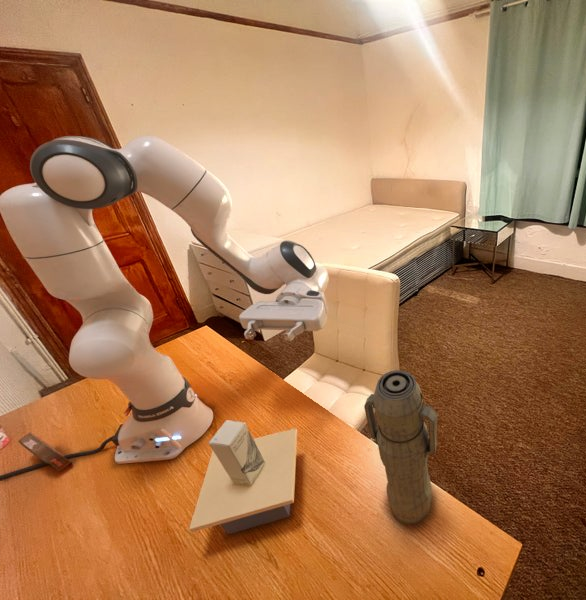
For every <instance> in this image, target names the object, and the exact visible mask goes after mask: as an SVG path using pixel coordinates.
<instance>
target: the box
mask: <svg viewBox="0 0 586 600" xmlns="http://www.w3.org/2000/svg"><path fill="white" fill-rule="evenodd" d="M254 439H255V438H253V435H252V433H251V432H250V430H249V428H248V425H247V423H246V422H245V421H239V420H238V421H237V420H230V419H226V420H225V421H224V422H223V424H222V425H221V426H220V427H219V428H218V429H217V431H216V432H215V434H214V435H213V436H212V437H211V439H210V440H209V441H208V445H209V446H210V448H211V450H212V452H213V451H214V453H215V454H216V456H217V458H218V459H219V461H220V462H221V464H222V466H223V467H224V469H225V470H226V472H227V474H228V475H229V477H230V478H231V480H232V482H233V483H239V484H244V485H252V483H253V482H254V480H255V479H256V477H257V475H258V474H259V472H260V470H261V469H262V467H263V465H264V463H265V461H264V459H263V457H262V455H261V453H260V451H259V449H258V447H257V445H256V443H255V441H254Z"/></svg>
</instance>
